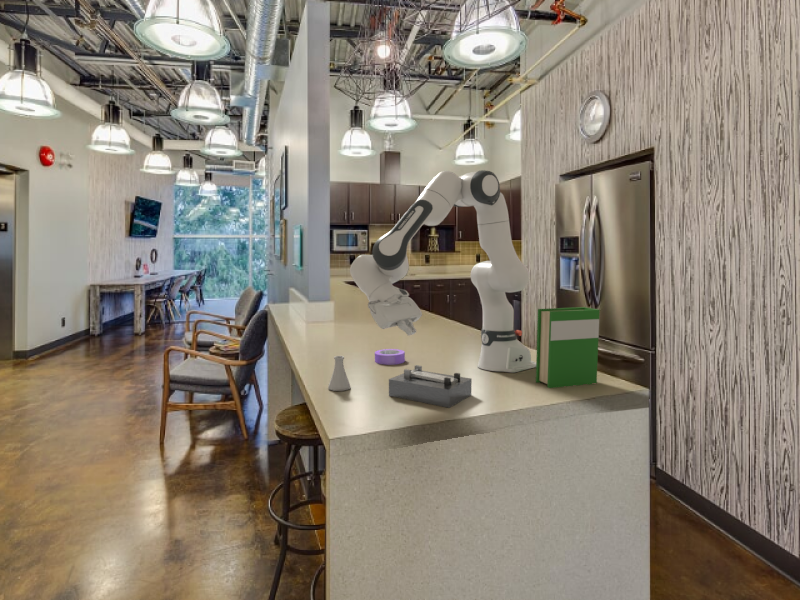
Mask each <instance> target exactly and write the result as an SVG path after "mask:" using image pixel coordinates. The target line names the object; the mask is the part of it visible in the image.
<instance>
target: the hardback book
mask: <svg viewBox="0 0 800 600" xmlns="http://www.w3.org/2000/svg"><path fill="white" fill-rule="evenodd" d="M600 311H601V310H600V309H596V308H591V307H586V306H585V307H583V306H580V307H578V306H577V307H559V308H558V307H557V308H556V307H555V308H554V307H552V308H537V326H536V327H537V328H536V329H537V330H536V331H537V332H536V334H537V335H536V360H535V361H536V362H535V363H536V367H535V383H538V384H539V383H544V384H546V385H547V388H548V389H552V388H553V389H554V388H563V387H564V386H566V387H573V385H576V386H584V385H583V384H587V385H593V384H592V383H598V382H597V379H598V361H599V359H598V358H599V356H598V355H599V338H600V337H599V334H600V313H601V312H600Z"/></svg>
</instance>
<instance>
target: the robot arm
mask: <svg viewBox="0 0 800 600" xmlns="http://www.w3.org/2000/svg"><path fill="white" fill-rule="evenodd" d="M506 202H507V201H506V199H505V195H504V194H503V193H502V192H501V185H500V182H499V178H498V177H497V175H496V174H495V173H494V172H492V171H490V170H485V169H484V170H478V171H471V172H466V173H465V174H462V175H459V176H458V175H457V174H456V173H454V172H452V171H450V170H442V171H440V172H438V174H437V175H435V176H434V177H433V178H432V179H431V180H430V181H429V183H427V185H425V188H424V189H423V190H422V192H421V193H420V195H419V196H418V198H417V199H416V200H415V202H414V203H412V205H411V206H410V207H409V208H408V210H406V212H405V213H404V214H403V215H402V216H401V218H400V219H399V220H398V221H397V223H395V225H394V227H392V228H391V230H390V231H388V232H387V233H385V234H384V235H382V236H380V237H379V238H378V239H377V240H376V241H375V243H374V244H373V246H372V252H371V254H360V255H359V256H357V257H356V258H355V259H354V260H353V262H351V265H350V268H349V273H350V276H351V278H352V280H353V282H354V283H355V284H356V286H357V287H358V288H359V290H360V291H361V293H363V294H365V296H366V297H367V300H368V304H367V308H368V309H369V313H370V315H371V317H372V319H373V320H374V322H375V323H376V325H377V326H378V327H379V328H380V329H381V330H385V329H389V328H394V327H398V328H399V329H400V330H402V332H404V333H405V334H406V335H407V336H409V337H410V336H413V335H415V334H416V333H417V329H416V328H415V326H414V323H417V321H419V319H421V317H422V316H423V312H422V310H421V309H420V307H419V306H418V304H417V303H416V302H415V300H413V299H412V298H411V297H409V296H410V293H409V292H408V291H407V290H406V289H402V288H399V287H397V286H394V285H393V284H395V283H398V282H399V281H401V280H402V279H404V278H405V277H406V276H407V274H408V272H409V271H410V264H409V259H408V258H409V257H408V254H407V253H408V246H409V244H410V242H411V240H412V239H413V237H415V235H416V234H417V233H418V231H419V230H420V229H421V228H422V226H423V225H425V226H428V227H435V226H438V225H440V224H441V223H442V222H443V221H444V220H445V218H447V216H449V213H450V212H451V211H452V208H453V207H456V208H463V207H474V209H475V211H476V222H477V230H478V231H477V232H478V238H479V239H478V241H479V245H480V248H481V249H482V250H483V251H484V252H485V253H486V254H487V257H488V259H489V260H485V261H481V262H478V263H476V264H474V266H473V267H472V269H471V271H470V281H471V283H472V284H473V286H474V287H475V288H476V289H477V292H478V294H479V298H480V302H481V308H482V328H481V333H480V338H481V348H480V354H479V359H478V362H477V368H479V369H482V370H485V371H491V372H505V373H518V372H522V371H525V370H530V369H532V368H536V362H535V361H533V360H532V357H531V351H530V349H529V348H528V347H527V346H526V345H525V344H523V343H522V342H521V341H519V340H518V337H517V336H519V337H521V336H522V335H523V332H522V330H519V329H516V330H515V329H514V316H515V315H514V314H515V313H514V312H515V311H514V307H513V305H512V303H510V302H509V299H508V298H507V294H506V293H517V292H521V291H523V290H525V289H526V288H527V287H528V285H529V283H530V280H531V275H530V270H529V269H528V267H527V266H526V265H525V264H524V263H523V262H522V261H521V260H520V258H519V256H518V254H517V252H516V249H515V247H514V244H513V240H512V234H511V226H510V218H509V217H510V216H509V211H508V205H507V203H506Z"/></svg>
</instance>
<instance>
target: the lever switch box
mask: <svg viewBox="0 0 800 600" xmlns="http://www.w3.org/2000/svg"><path fill="white" fill-rule="evenodd" d="M413 370H418V371H422V372H427V373H432V374H437V375H442V376H447V377H445V378H444V383H442V382H437V381H432V380H427V379H423V378H418V377H413V376H411V371H413ZM448 377H452V378H457V379H458V381H457V382H455V383H453V384H451V378H448ZM388 396H389V397H394V398H397V399H398V398H399V399H403V400H409V401H414V402H419V403H423V404H428V405H433V406H439V407H443V408H448V409H450V408H451V407H453V406H456V405H457V404H458V403H461V402H462V401H465V400H466V399H467V398H469V397H471V396H472V378H471V377H464V376H461V373H460V372H454V374H453V375H451V374H446V373H438V372H432V371H428V370H427V371H426V370H423V366H422V365H418V364H415V365H414V369H407V368H405V369H404V370H403V373H401V374H398V375H396V376H393V377H391V378H388Z"/></svg>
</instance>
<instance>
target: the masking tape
mask: <svg viewBox="0 0 800 600" xmlns="http://www.w3.org/2000/svg"><path fill="white" fill-rule="evenodd" d="M405 354H406V352H405V350H403V349H397V348H387V349H386V348H385V349H378V350H376V351H374V362H375V363H376V364H379V365H387V366H388V365H389V366H390V365H400V364H403V363H404V362H406V357H405Z"/></svg>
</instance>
